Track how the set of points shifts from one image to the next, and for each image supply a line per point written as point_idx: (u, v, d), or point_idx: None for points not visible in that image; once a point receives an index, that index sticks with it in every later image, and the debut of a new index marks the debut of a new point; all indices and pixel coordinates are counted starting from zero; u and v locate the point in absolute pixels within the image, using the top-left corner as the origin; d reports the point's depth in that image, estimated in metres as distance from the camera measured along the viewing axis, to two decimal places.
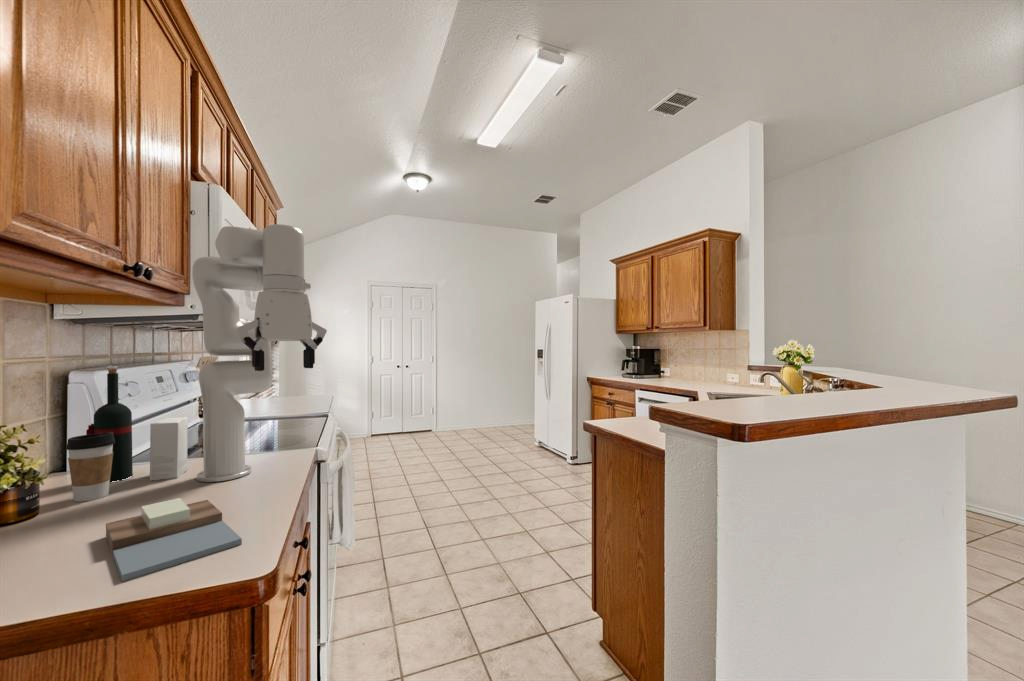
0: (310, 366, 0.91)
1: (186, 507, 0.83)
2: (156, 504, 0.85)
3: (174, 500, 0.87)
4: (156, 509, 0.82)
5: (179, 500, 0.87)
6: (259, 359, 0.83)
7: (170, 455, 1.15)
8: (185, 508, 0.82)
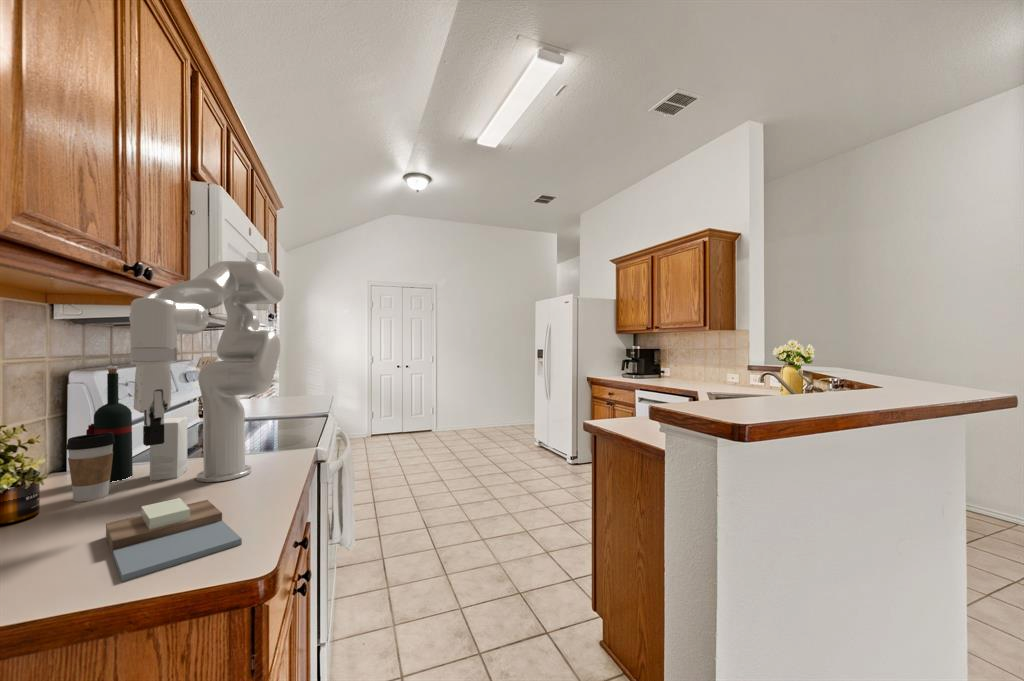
0: None
1: (186, 507, 0.83)
2: (156, 504, 0.85)
3: (174, 500, 0.87)
4: (156, 509, 0.82)
5: (179, 500, 0.87)
6: (161, 433, 0.90)
7: (170, 455, 1.15)
8: (185, 508, 0.82)
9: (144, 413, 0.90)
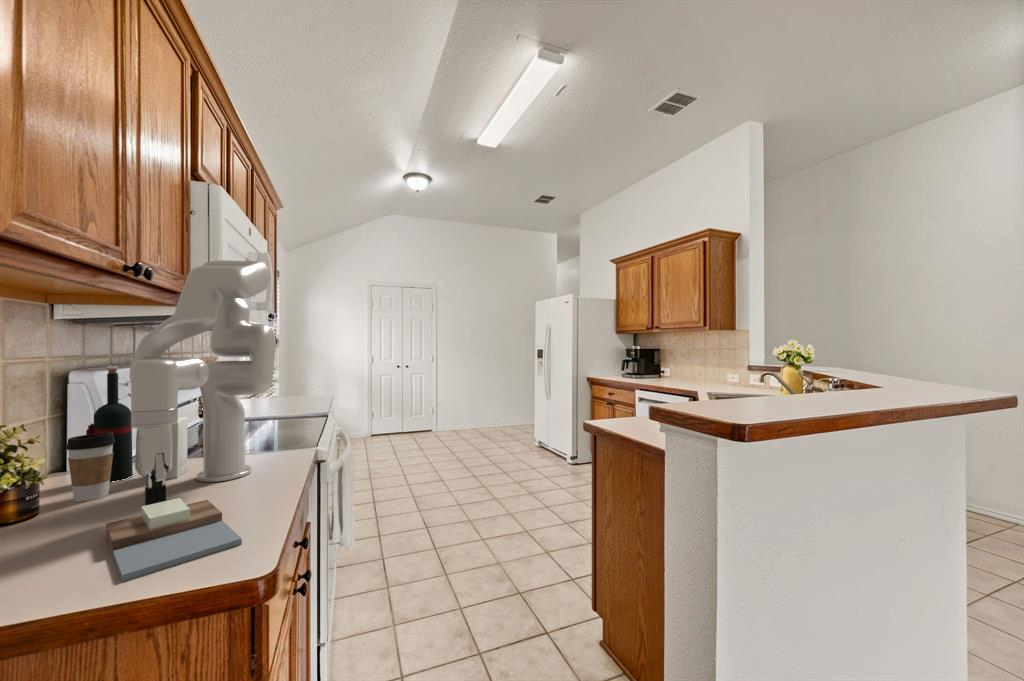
0: (164, 500, 0.91)
1: (186, 507, 0.83)
2: (156, 504, 0.85)
3: (174, 500, 0.87)
4: (156, 509, 0.82)
5: (179, 500, 0.87)
6: (163, 493, 0.90)
7: None
8: (185, 508, 0.82)
9: None
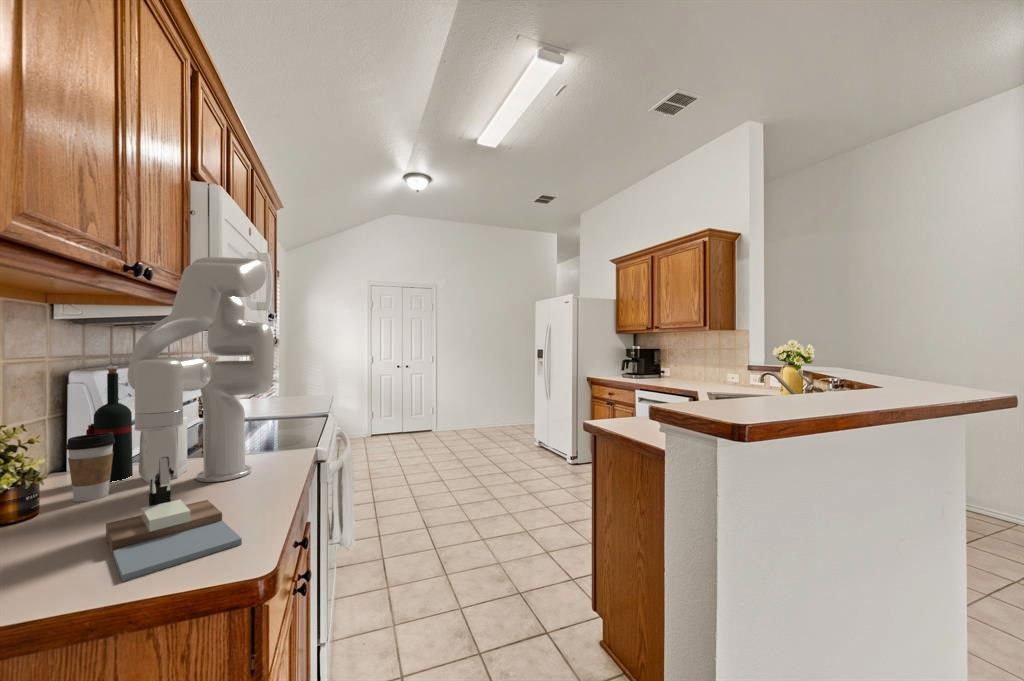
0: None
1: (186, 509, 0.82)
2: (157, 505, 0.84)
3: (175, 502, 0.86)
4: (157, 511, 0.81)
5: (180, 502, 0.86)
6: (167, 499, 0.87)
7: None
8: (185, 509, 0.82)
9: None
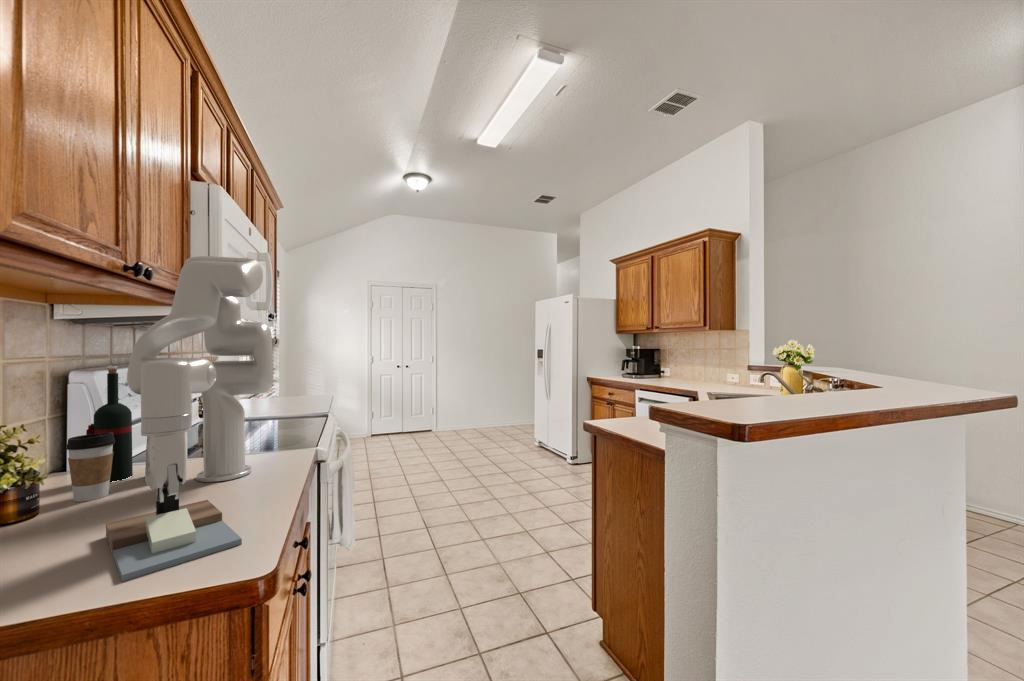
0: None
1: (192, 527, 0.76)
2: (161, 516, 0.78)
3: (181, 512, 0.80)
4: (161, 527, 0.75)
5: (186, 512, 0.80)
6: (176, 508, 0.82)
7: None
8: (191, 528, 0.76)
9: None
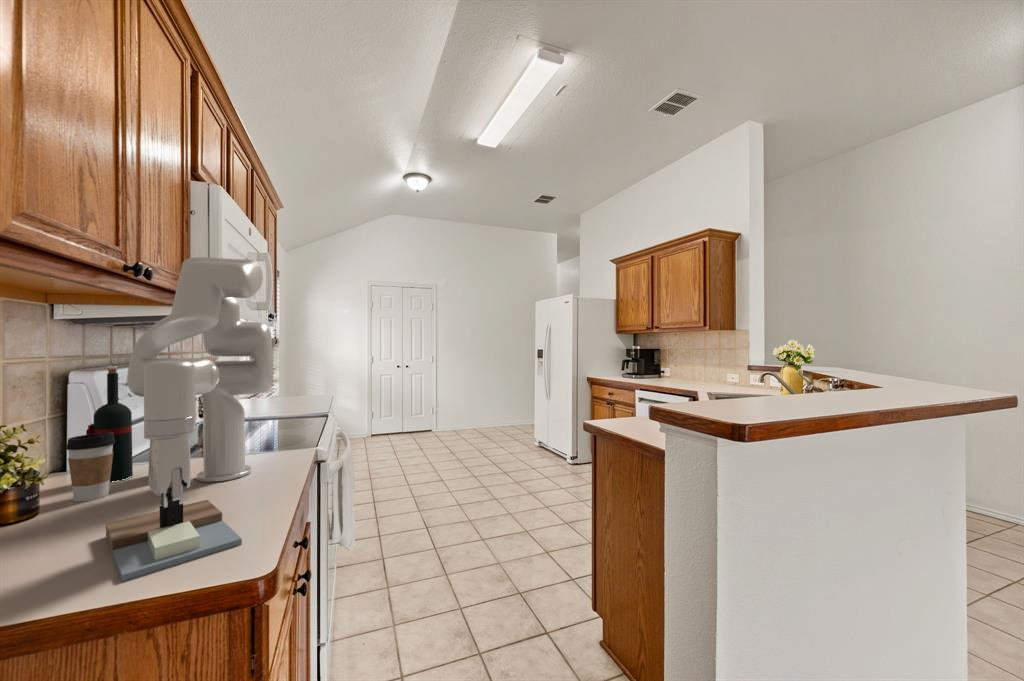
0: None
1: (196, 533, 0.75)
2: (164, 529, 0.77)
3: (183, 524, 0.79)
4: (163, 536, 0.74)
5: (189, 524, 0.79)
6: (180, 513, 0.79)
7: None
8: (194, 534, 0.74)
9: None
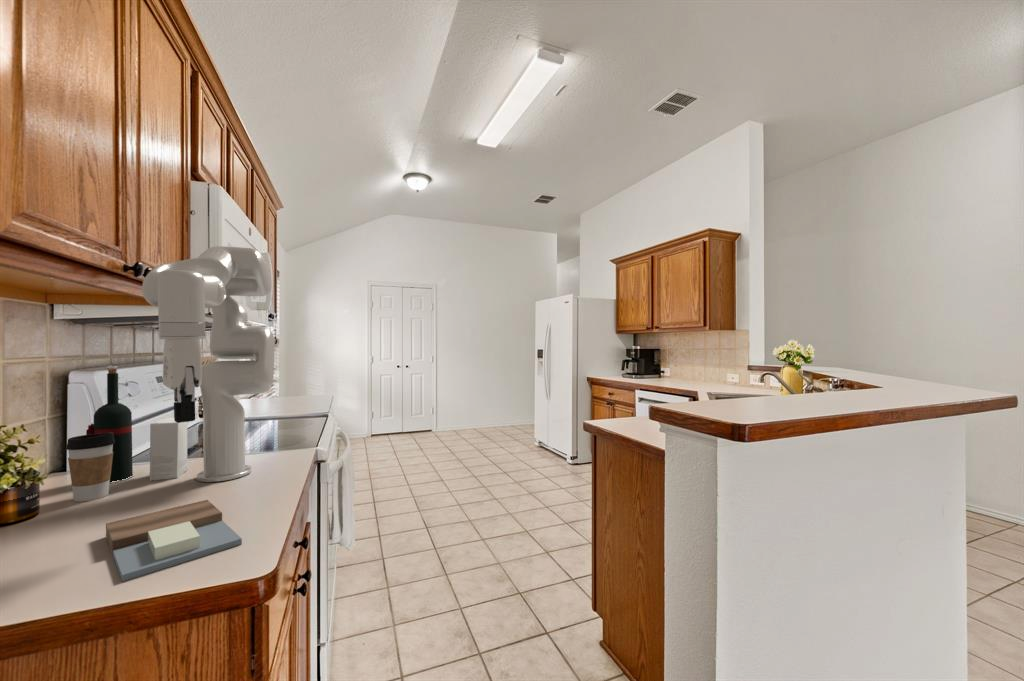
0: None
1: (196, 533, 0.74)
2: (164, 529, 0.77)
3: (184, 524, 0.79)
4: (163, 536, 0.74)
5: (189, 524, 0.78)
6: (192, 410, 0.88)
7: (169, 455, 1.15)
8: (194, 534, 0.74)
9: (174, 389, 0.87)
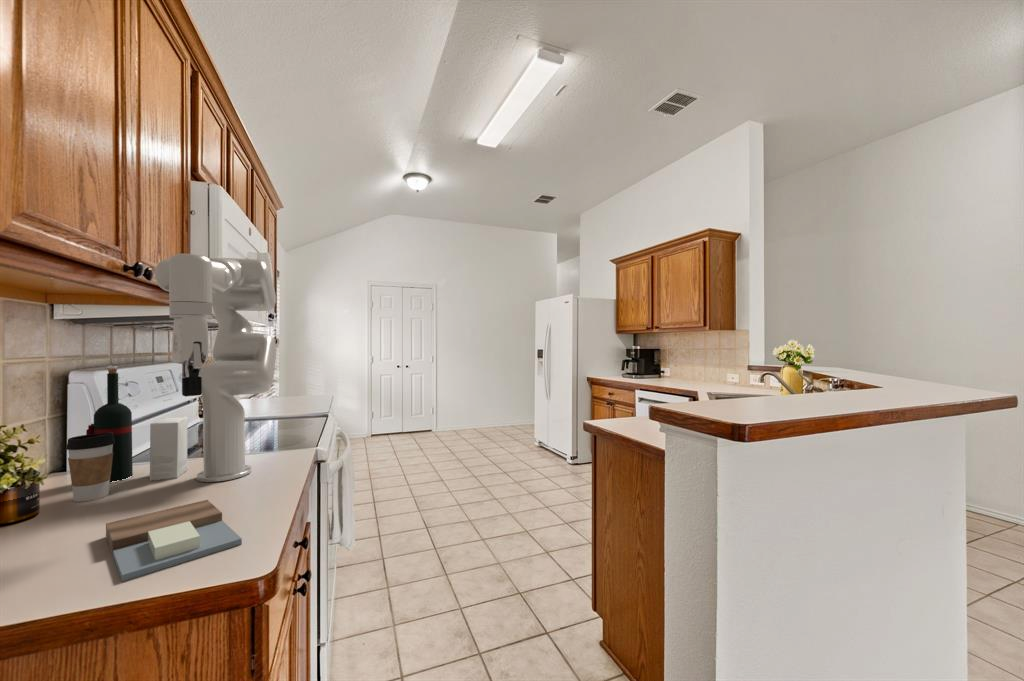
0: None
1: (196, 533, 0.74)
2: (164, 529, 0.77)
3: (184, 524, 0.79)
4: (163, 536, 0.74)
5: (189, 524, 0.78)
6: (199, 385, 0.93)
7: (170, 455, 1.15)
8: (194, 534, 0.74)
9: (182, 365, 0.93)
